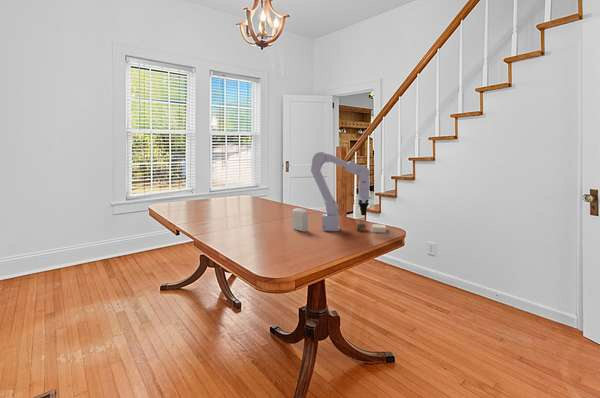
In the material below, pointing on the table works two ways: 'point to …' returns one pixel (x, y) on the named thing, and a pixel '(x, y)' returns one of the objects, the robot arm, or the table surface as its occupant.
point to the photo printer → (300, 219)
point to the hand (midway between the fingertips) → (363, 213)
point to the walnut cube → (361, 226)
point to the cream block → (378, 228)
